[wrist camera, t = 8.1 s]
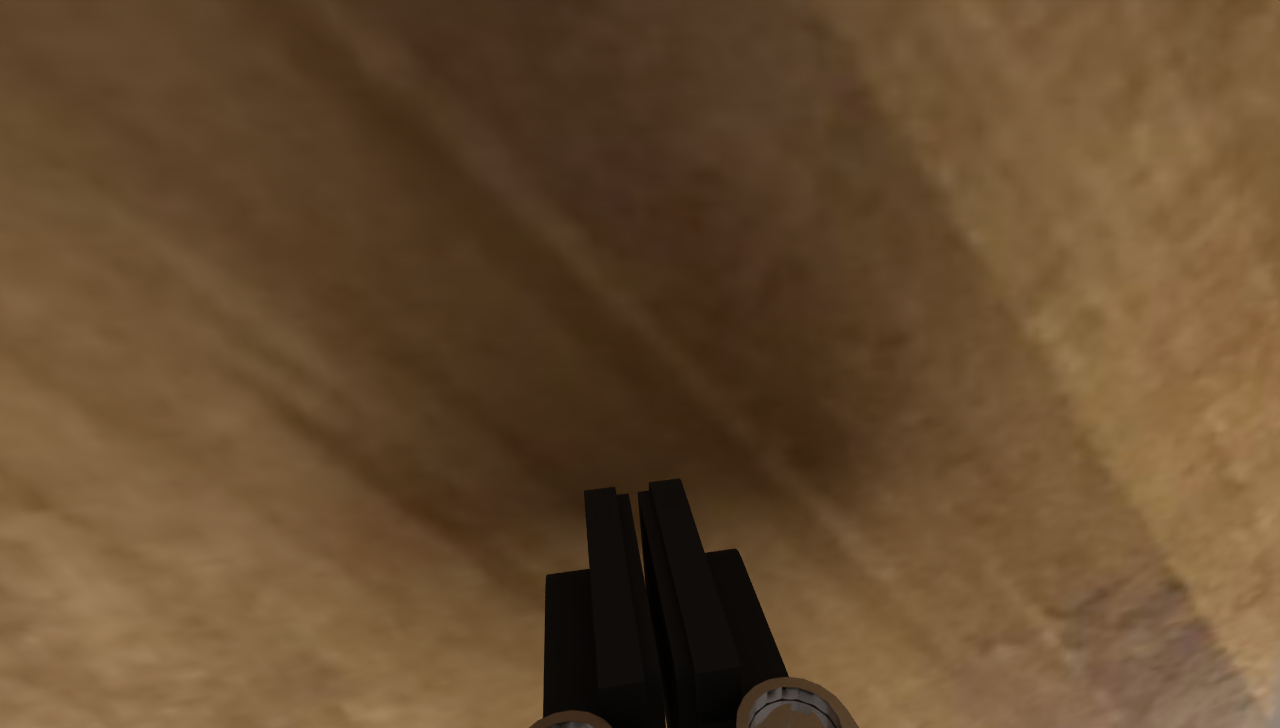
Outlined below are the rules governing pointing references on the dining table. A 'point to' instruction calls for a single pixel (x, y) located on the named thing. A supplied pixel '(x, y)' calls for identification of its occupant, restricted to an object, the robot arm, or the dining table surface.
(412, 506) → the dining table surface
